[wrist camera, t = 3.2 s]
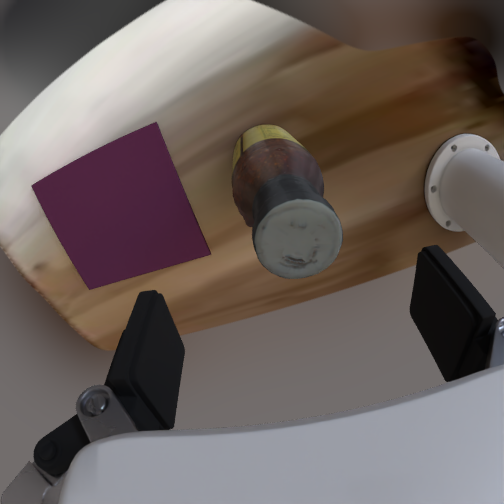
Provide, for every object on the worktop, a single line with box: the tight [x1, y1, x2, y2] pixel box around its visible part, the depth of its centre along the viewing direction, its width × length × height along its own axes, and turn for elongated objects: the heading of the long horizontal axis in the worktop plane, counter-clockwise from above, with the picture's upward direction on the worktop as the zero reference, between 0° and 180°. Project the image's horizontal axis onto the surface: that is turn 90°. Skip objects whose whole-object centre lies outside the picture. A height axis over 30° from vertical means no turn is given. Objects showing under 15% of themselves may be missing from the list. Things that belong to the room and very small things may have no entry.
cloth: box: [32, 122, 211, 290], centre depth 34 cm, size 18×16×1 cm
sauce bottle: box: [232, 124, 343, 279], centre depth 23 cm, size 7×6×20 cm
